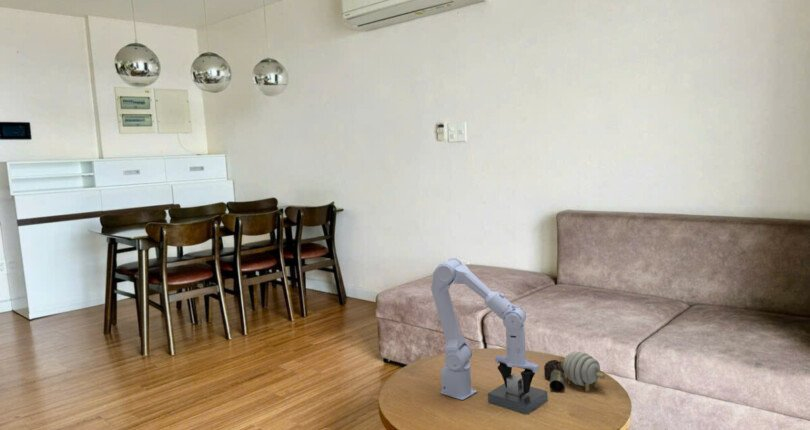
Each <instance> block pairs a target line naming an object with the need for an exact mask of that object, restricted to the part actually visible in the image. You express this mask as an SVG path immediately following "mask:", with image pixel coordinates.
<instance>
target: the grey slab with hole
mask: <svg viewBox="0 0 810 430" xmlns="http://www.w3.org/2000/svg"><path fill="white" fill-rule="evenodd" d="M548 394H549V393H548V390H546V389H545V390H544V389H542V388H538V387H535V386H531V385H530V390H529V392H527V393H526V394H525V395H523V396H522V397H517V396H514V395H510V394H508V391H507V388H506V386H505V383H504V382H503V383H502V384H501V385H499V386H498V387H496V388H494V389H492V390H491V391H489V392H488V393H487V402H488V403H489V404H492V405H496V406H499V407H502V408H506V409H508V410H511V411H515V412H518V413H520V414H525V415H529V414H531V413H532V412H533V411H535V410H536V409H538V408H539V407H540V406H541V405H543V404H545V403H546V402H548V400H549V397H548Z"/></svg>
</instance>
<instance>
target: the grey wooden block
mask: <svg viewBox="0 0 810 430" xmlns="http://www.w3.org/2000/svg"><path fill="white" fill-rule="evenodd" d="M506 379H507V391H508V394H510V395H514V396H517V397H522V396H523V395H525V394H526V393H524V389H523V379H522V376H521V374H517V373H511V376H509V377H508V378H506Z"/></svg>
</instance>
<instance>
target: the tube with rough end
mask: <svg viewBox="0 0 810 430" xmlns="http://www.w3.org/2000/svg"><path fill="white" fill-rule="evenodd" d="M561 361H562V360H561ZM561 361H559V360H558V359H551V360H549V361H547V362H546V363H545V364H544V369H543V370H544V376H545V379H547V380H549V389H550V390H551V391H552V392H554V393H562V392H564V391H565V389H566V385H565V376H564V374H565V373H564V370H563V369H562V368H561Z"/></svg>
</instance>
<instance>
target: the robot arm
mask: <svg viewBox="0 0 810 430" xmlns="http://www.w3.org/2000/svg"><path fill="white" fill-rule="evenodd" d="M432 275H433V277H432V281H431V286H430V288H431V289H430V290H431V291H430V292H431V295H432V297H433V300H434V304H435V308H436V311H437V315H438V319H439V321H440V325H441V329H442V331H443V335H444V338H445V345H444V353H445V357H444V362H445V363H444V366H443V367H442V369H441V372H440V378H441V379H440V380H441V382H440V383H441V391H440V394H442V395H445V396H447V397H452V398H455V399H457V400H460V401H464V400H466V399H467V398H469V397H471V396H473V395H475V394H477V393H478V390H477V389H472V376H471V364H470V360H471V358H472V356H473V352H472V351H473V350H472V348H471V347H470V345H469V344H468V343H467V340H466V338H465V337H464V336H463V335H462V333H461V329H460V326H459V322H458V320H457V315H456V313H455V312H456V311H455V309H454V305H453V301H452V298H451V295H450V292H449V289H450V287H451V285H453V284H458V285H460V284H462V285H465V286H466V287H468V288H469V289H471V290H472V291H473V292H474V293H475V294H477V295H478V296H479V297H481V298H482V299H483V300H484V304H485V307H487V308H488V309H489V310H490V311H492V313H494V314H495V315H496V316H497V317H498V318H500V320H502V323H503V325H504V327H505V340H506V341H505V342H506V343H505V345H506V355H499V354H498V355H497V356H495V357H494V360H495V361H494V362H495V363H496V364H499V365H498V366H497V370H498V371H499V372H500V375H501V377H502V380H503V384H504V383H505V386H506V388H507V379H506V378H508V377H509V376H511V375H512V370H513V368H519V369H521V370H522V369H523V370H522V371H521V372H520V375H521V376H522V379H523V389H524V393H527V392H529V390H530V386H531V384H532V382H533V378H534V376H535V375H536V373H539V372H540V368H539V367H540V365H539V364H536V363H534V362H531V361H529V360H527V359H526V358H527V357H526V333H525V321H526V319H527V314H526V312H525V310H524V309H523V308H522V307H521V306H517V305H516V304H514V303H512V302H510V300H508V298H506V297H504V296H505V294H504V293H503V292H500V291H492V290H491V289H490V288H489V287H488V286H487V285H486V284H485V283H483V281H481V280H480V278H478V276H476V275H475V274H474V273H473V272H472V271H471V270H470V269H469V267H468V266H467V265H466V264H465V263H462V261H461V260H459V259H457V258H454V257H453V258H449V259H448V260H447V261H444V262H442V263H440V264H439V265H437V267H436V268H435V269H434V270H433V272H432Z"/></svg>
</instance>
